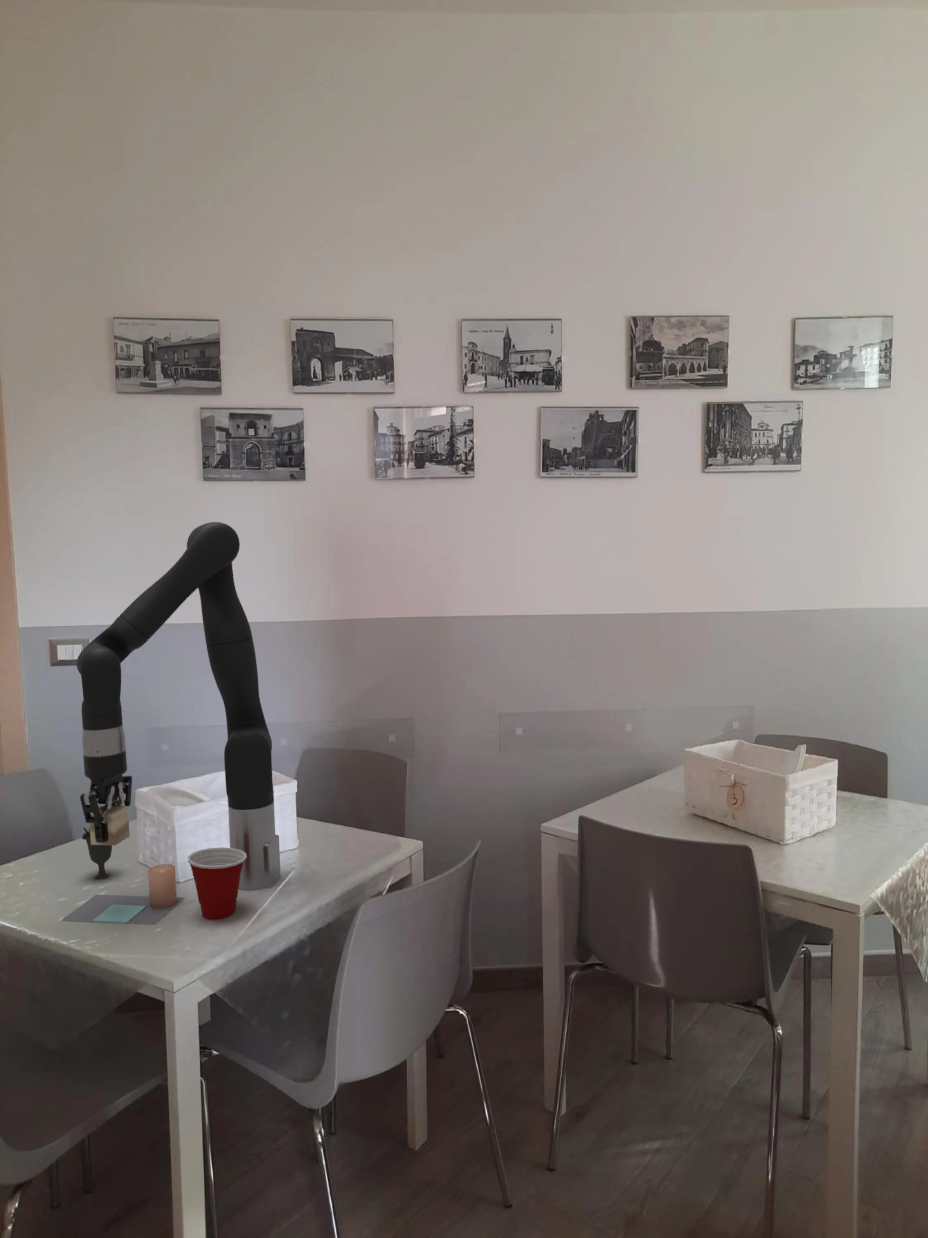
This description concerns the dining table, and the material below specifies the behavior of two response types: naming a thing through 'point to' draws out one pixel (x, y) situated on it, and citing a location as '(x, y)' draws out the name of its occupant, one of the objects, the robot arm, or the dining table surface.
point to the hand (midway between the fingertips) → (110, 836)
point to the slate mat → (103, 902)
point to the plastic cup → (217, 880)
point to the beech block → (114, 826)
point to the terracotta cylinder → (162, 886)
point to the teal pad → (119, 914)
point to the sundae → (98, 854)
